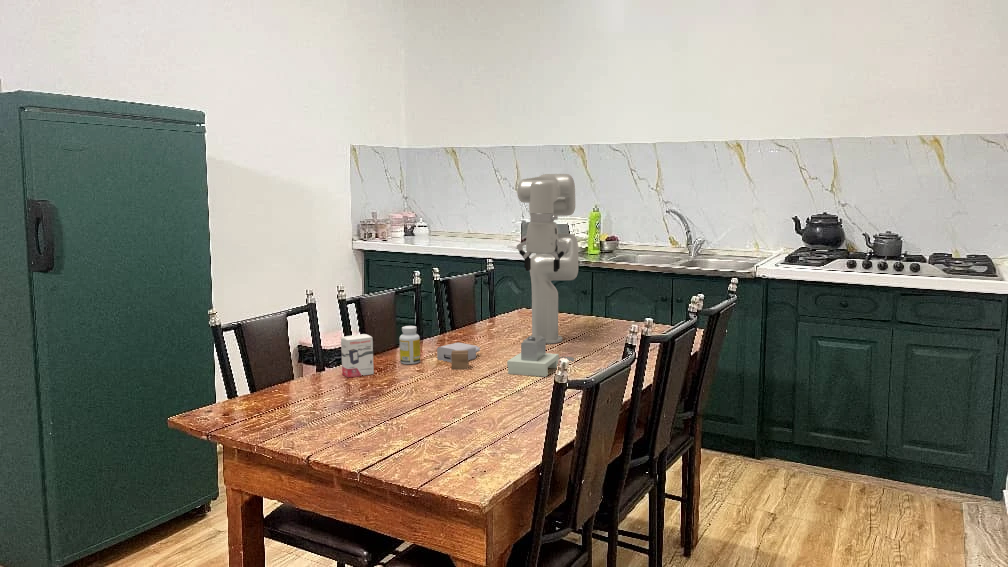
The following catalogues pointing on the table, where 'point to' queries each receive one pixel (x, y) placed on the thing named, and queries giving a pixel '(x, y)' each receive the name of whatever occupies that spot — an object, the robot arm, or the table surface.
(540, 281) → the robot arm
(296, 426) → the table surface
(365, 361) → the white product box
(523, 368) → the stand
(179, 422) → the table surface
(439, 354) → the charger
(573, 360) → the grey disc
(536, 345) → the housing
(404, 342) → the pill bottle
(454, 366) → the walnut block
